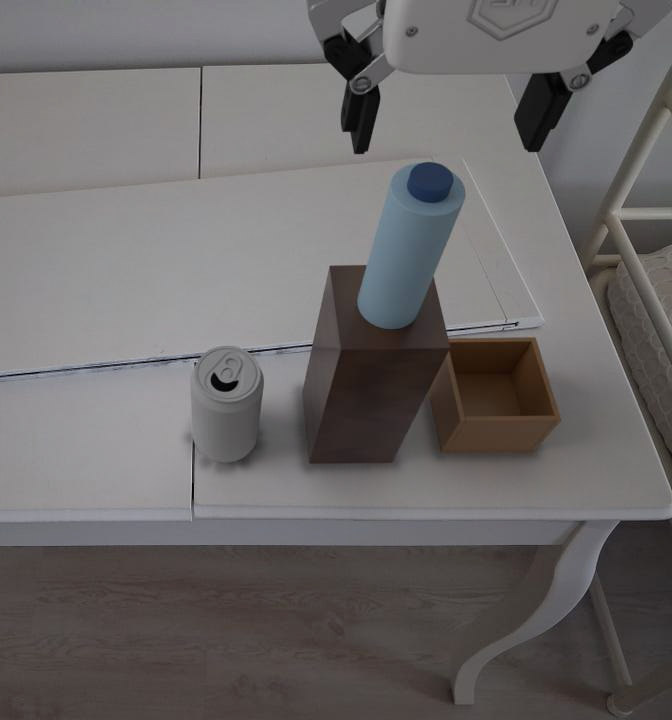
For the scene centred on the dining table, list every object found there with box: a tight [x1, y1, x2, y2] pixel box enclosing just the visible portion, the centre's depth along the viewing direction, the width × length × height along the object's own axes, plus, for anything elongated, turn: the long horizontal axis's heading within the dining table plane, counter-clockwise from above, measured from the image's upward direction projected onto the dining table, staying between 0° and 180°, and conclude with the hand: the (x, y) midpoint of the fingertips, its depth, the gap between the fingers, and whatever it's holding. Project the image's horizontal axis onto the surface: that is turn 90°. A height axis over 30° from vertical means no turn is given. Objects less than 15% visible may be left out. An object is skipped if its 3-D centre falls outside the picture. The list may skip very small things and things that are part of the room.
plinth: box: [301, 264, 450, 465], centre depth 63 cm, size 8×8×20 cm
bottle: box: [357, 161, 467, 329], centre depth 49 cm, size 5×5×13 cm
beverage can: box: [189, 345, 265, 463], centre depth 66 cm, size 6×6×12 cm
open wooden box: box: [428, 336, 562, 453], centre depth 70 cm, size 9×9×6 cm
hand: (440, 136), depth 42 cm, fingers open, 9 cm apart
